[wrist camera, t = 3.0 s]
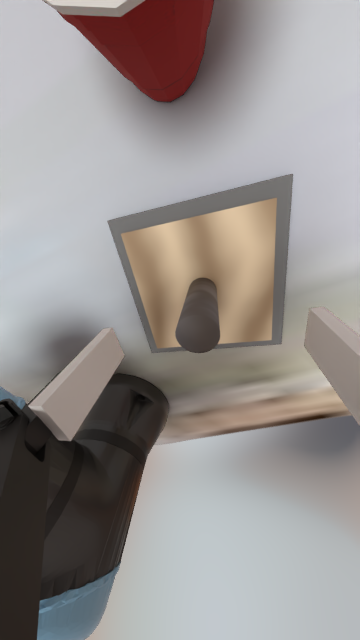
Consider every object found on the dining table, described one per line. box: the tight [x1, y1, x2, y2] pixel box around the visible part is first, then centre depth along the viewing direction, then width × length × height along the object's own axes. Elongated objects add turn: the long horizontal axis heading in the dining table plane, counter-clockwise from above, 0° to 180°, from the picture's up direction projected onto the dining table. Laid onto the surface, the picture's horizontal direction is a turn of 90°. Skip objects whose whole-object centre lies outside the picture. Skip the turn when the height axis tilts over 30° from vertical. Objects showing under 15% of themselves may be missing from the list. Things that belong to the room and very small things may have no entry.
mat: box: [108, 174, 293, 353], centre depth 22 cm, size 18×18×1 cm
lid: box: [121, 198, 277, 353], centre depth 17 cm, size 15×15×10 cm
